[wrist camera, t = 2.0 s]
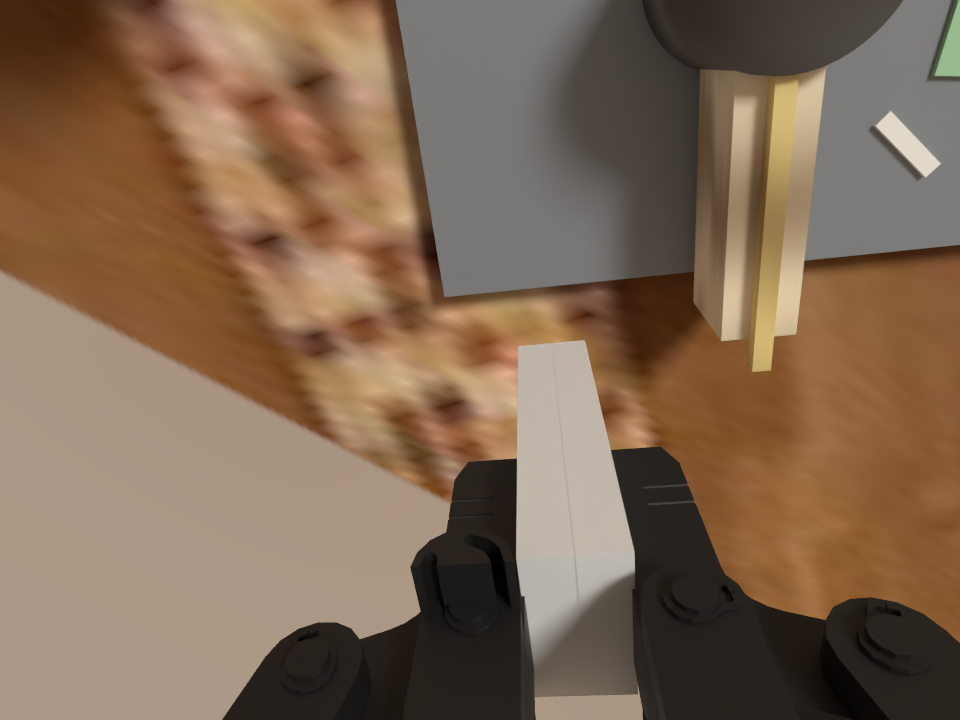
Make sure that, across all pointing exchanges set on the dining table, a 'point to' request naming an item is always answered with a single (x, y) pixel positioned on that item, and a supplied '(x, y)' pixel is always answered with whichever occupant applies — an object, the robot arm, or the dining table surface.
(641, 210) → the gauge board
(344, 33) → the dining table surface
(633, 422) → the dining table surface
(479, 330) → the dining table surface
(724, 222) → the dial lever
